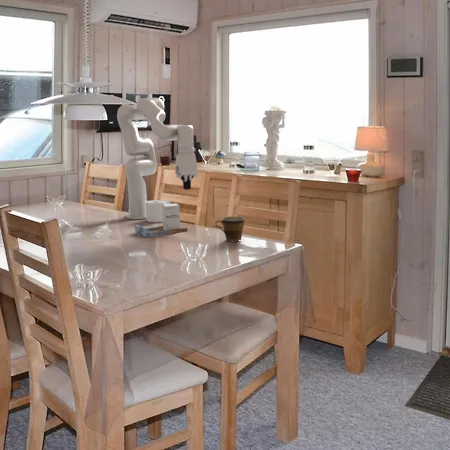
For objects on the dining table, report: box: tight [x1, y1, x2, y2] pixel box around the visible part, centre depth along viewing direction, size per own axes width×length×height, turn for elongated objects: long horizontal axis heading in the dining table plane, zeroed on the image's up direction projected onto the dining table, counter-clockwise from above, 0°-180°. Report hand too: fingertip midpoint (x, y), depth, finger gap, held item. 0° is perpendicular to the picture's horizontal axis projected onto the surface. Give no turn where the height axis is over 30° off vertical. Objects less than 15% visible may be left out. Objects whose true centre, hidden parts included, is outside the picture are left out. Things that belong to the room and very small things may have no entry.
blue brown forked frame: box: [134, 224, 189, 238], centre depth 295 cm, size 12×22×4 cm, turn 126°
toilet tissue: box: [146, 199, 172, 223], centre depth 323 cm, size 11×12×10 cm
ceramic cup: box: [215, 216, 245, 242], centre depth 274 cm, size 13×10×10 cm
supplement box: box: [162, 203, 181, 231], centre depth 297 cm, size 7×7×13 cm
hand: (187, 189), depth 300 cm, fingers closed
